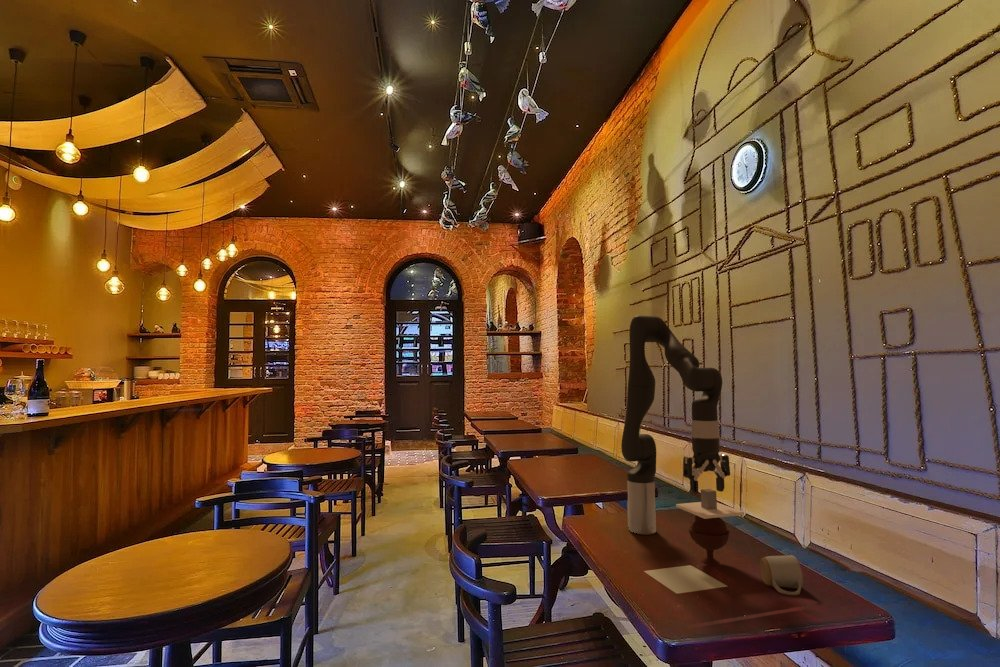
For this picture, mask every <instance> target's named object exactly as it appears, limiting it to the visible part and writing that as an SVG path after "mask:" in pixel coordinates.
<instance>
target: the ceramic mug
mask: <svg viewBox="0 0 1000 667" xmlns="http://www.w3.org/2000/svg"><path fill="white" fill-rule="evenodd" d="M759 570H760V576H761V579H762V581H763V582H764V584H765V585H767V586H768V587H773V588H774V589H775V590H776V591H777V592H778V593H780V594H783V595H787V596H798V595H800V594H801V591H802V587H803V585H804V583H803V582H804V578H803V577H804V576H803V571H802V568H801V565H800V562H799V560H798V558H796V556H795V555H793V554H790V555H768V556H763V557H761V558H760V560H759ZM783 588H787V589H788V588H789V589H797V590H795V591H787V590H785V589H783Z"/></svg>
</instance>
